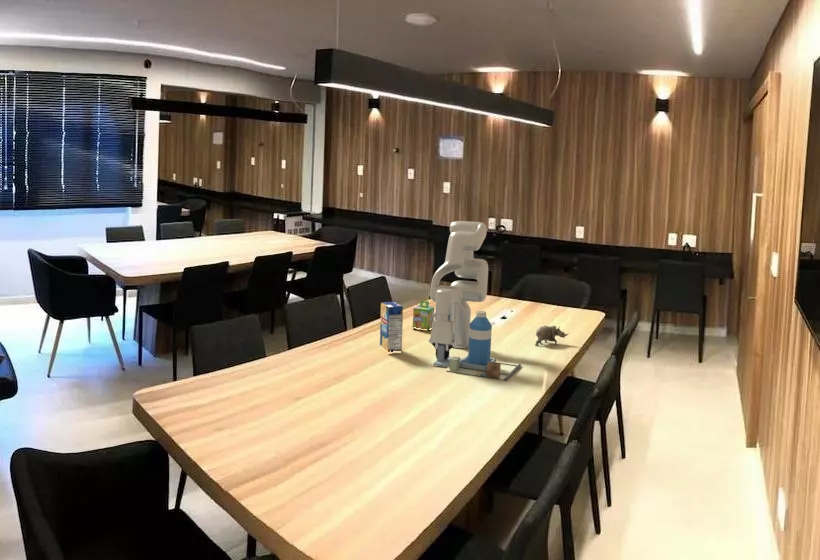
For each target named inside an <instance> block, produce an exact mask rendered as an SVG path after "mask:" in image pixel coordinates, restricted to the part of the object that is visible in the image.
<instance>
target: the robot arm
mask: <svg viewBox="0 0 820 560" xmlns="http://www.w3.org/2000/svg"><path fill="white" fill-rule="evenodd" d="M487 231H488V230H487V225H486V224H485V223H484V222H480V221H467V220H456V221H452V222H450V224H449V233H450V234H449V235H448V236H449V237H448V241H447V247H446V253H445V260H444V263H443V264H442V265H441V266H439V267H438V269H437V270H436V271H435V272H434V274H433V276H432V278H431V284H430V287H429V288H430V291H429V298H430V300H431V301H433V302H435V310H434V314H432V316H433V317H434V320H433V323H432V329H431V330H430V337H429V339H428V343H429V344H430V345H432V346H433V347H434V350H435V357H436V358H435V359H437V348H438V345H439V344H446V351H445V355H444V359H445V360H446V359H448V358H449V357H450V350H451V349H452V348H453V347H454V348H453V349H469V328H470V323H471V316H472V315H471V314H472V309H471V307H470V305H469V304H468V302H473V303H483V302H484V301H486V298H487V295H488V294H487V293H488V282H489V281H488V280H489V264H488V261H487V260H485V259H482V258H474V252H476V251H478V250H480V248H481V246H482V244H483V243H484V241H485V239H486V236H487ZM452 272H454V274H455V276H456V277H457V278H463V279H474V280H476V281H472V280H471V281H470V280H455V281H453V282H452V283H451V284H450V285H440V281H441V279H442V278H443V277H444V276H446V275H447V274H450V273H452Z"/></svg>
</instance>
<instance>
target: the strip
mask: <svg viewBox="0 0 820 560" xmlns="http://www.w3.org/2000/svg"><path fill="white" fill-rule="evenodd" d="M451 357H452V358H451V359H450V366H449V370H448V371H453V372H459V373H465V374H472V375H475V373H476V372H477V371H476V370H469V369H463V368H460V358H461V357H459V356H451Z"/></svg>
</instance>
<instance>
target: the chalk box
mask: <svg viewBox="0 0 820 560" xmlns="http://www.w3.org/2000/svg"><path fill="white" fill-rule="evenodd" d="M419 302H420V303H419V305H417V306H415V307H413V311H412V313H413V314H412V315H413V316H412V328H413V327H416V328H421V329H427V330H429V329H430V328H432V323H433V320H434V319H435V317H433V316H432V314H434V313H435V307H434V306H430V302H429V300H428V301H427V300H420V301H419ZM423 304H425V305H423Z"/></svg>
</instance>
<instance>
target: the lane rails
mask: <svg viewBox="0 0 820 560" xmlns="http://www.w3.org/2000/svg"><path fill="white" fill-rule="evenodd" d="M464 358H465V357H463V358H462V359H464ZM500 363H501V365H505V366H512V367H514V368H513V369H512V370H511V371H510V373H502V372H500V376H499V378H493V377H486V376H487V371H484V370H477V369H470V368H464V367H460V368H461V369H468V370H475V371H476V372H481V374H479V375H478V374H473V375H472V374H465V373H459V372H453V371H449V370H446V371H445V372H447V373H452V374H458V375H464V376H470V377H471V376H473V377H479V378H484V379H491V380H497V381H498V380H499V381H504V382H507V381H508V380H510V378H511V377H512V376H514V374H515V373H516V372H517V371H518V370H519V369H520V368H521V367H522V363H518V364H510V363H503V362H500Z"/></svg>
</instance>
